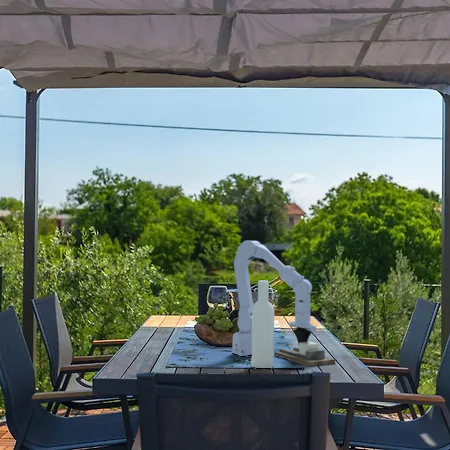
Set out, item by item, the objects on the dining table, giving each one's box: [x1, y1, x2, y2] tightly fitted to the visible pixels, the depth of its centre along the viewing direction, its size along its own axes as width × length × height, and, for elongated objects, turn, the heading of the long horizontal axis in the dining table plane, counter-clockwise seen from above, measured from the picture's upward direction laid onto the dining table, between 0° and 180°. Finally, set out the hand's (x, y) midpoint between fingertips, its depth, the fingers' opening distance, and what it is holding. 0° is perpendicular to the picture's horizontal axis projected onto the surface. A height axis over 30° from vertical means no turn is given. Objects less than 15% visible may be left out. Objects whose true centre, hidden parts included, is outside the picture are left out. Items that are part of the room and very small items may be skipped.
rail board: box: [274, 347, 336, 367], centre depth 220 cm, size 12×22×4 cm, turn 28°
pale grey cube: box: [298, 341, 319, 356], centre depth 217 cm, size 5×5×5 cm
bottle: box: [250, 279, 275, 368], centre depth 206 cm, size 8×8×30 cm
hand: (302, 348), depth 221 cm, fingers closed
